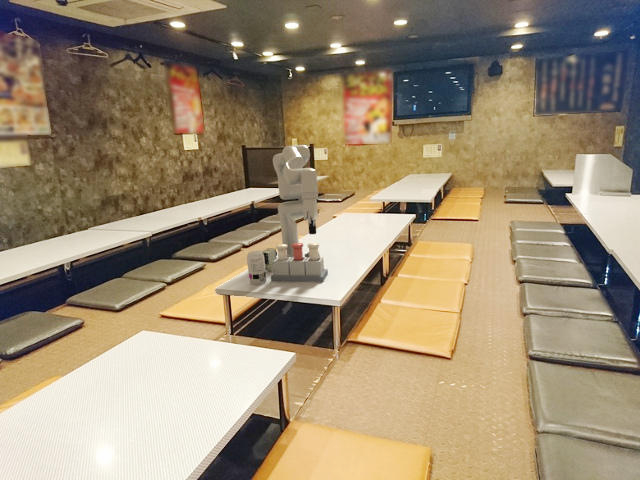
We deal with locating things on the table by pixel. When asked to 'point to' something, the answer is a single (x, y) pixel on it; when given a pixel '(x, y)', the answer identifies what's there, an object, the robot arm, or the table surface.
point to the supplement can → (256, 268)
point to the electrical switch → (309, 255)
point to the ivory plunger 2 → (313, 251)
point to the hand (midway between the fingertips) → (312, 233)
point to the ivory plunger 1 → (282, 252)
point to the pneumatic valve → (269, 258)
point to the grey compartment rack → (299, 270)
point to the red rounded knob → (297, 251)
